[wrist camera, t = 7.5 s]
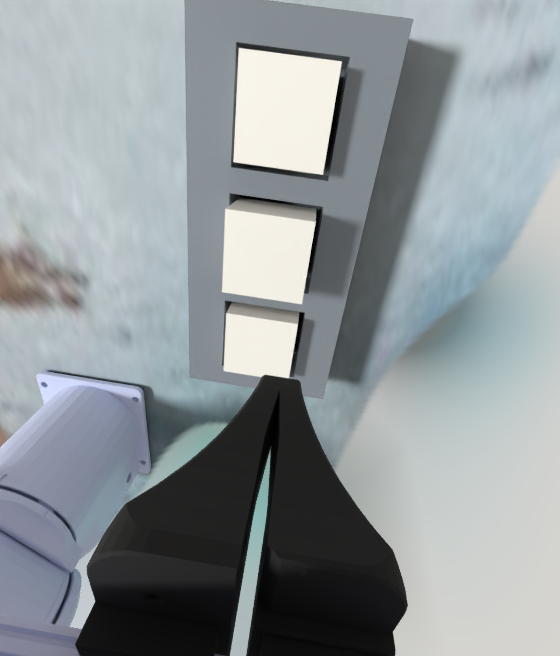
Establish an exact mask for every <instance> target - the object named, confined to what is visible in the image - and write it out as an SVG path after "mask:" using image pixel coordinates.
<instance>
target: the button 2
mask: <svg viewBox="0 0 560 656" xmlns="http://www.w3.org/2000/svg"><path fill="white" fill-rule="evenodd" d="M341 64H342V61H335V60H327V59H319V58H312V57H304V56H297V55H289V54H281V53H274V52H266V51H259V50H251V49H243V48H239V55H238V76H237V97H236V118H235V139H234V160H233V162H236V163H243V164H250V165H257V166H264V167H272V168H279V169H286V170H293V171H300V172H307V173H314V174H321V175H323V172H324V166H325V160H326V154H327V148H328V142H329V136H330V130H331V124H332V118H333V112H334V106H335V100H336V94H337V88H338V82H339V76H340V70H341Z"/></svg>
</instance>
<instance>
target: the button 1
mask: <svg viewBox="0 0 560 656" xmlns="http://www.w3.org/2000/svg"><path fill="white" fill-rule="evenodd" d="M298 320H299V312H297V311H291V310H284V309H278V308H271V307H265V306H258V305H252V304H245V303H239V302H232V303H231V305H230V307H229V309H228V311H227V313H226V329H225V350H224V371H226V372H233V373H239V374H245V375H251V376H258V377H262V376H264V375H271V376H277V377H284V378H289V375H290V369H291V363H292V357H293V351H294V345H295V339H296V333H297V327H298Z"/></svg>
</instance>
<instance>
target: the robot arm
mask: <svg viewBox="0 0 560 656" xmlns="http://www.w3.org/2000/svg"><path fill="white" fill-rule="evenodd" d="M37 381H38V384H39V388H40V391H41V395H42V398H43V401H44V405H43V406H42V407H41V408H40V409H39V410H38V411H37V412H36V413H35V414H34V415H33V416H32V417H31V418H30V419H29V420H28V421H27V422H26V423H25V424H24V425H23V426H22V427H21V428H20V429H19V430H18V431H17V432H16V433H15V434H14V435H13V436H12V437H11V438H9V439H8V440H7V441H6V442H5V443H4V444H3V445H2V446H1V447H0V656H230V651H231V645H232V639H233V632H234V627H235V621H236V615H237V609H238V603H239V597H240V591H241V585H242V579H243V573H244V567H245V561H246V556H247V549H248V544H249V538H250V532H251V526H252V520H253V515H254V510H255V505H256V500H257V497H258V493H259V489H260V485H261V481H262V478H263V474H264V470H265V466H266V462H267V459H268V455H269V451H270V447H271V457H270V475H269V492H268V507H267V517H266V524H265V531H264V538H263V545H262V552H261V559H260V565H259V573H258V580H257V586H256V593H255V600H254V607H253V614H252V620H251V628H250V635H249V641H248V648H247V654H246V656H395V644H394V637H393V630H394V629H395V628H396V626H397V625H398V623H399V622H400V620H401V619H402V617H403V616H404V614H405V612H406V609H407V606H408V604H407V599H406V591H405V587H404V583H403V579H402V576H401V573H400V569H399V566H398V564H397V561H396V558H395V555H394V552H393V550H392V549H391V547H390V546H389V545H388V544H387V543H386V542H385V540H384V539H383V538H382V537H381V536H380V535H379V534H378V532H377V531H376V530H375V529H374V528H373V526H372V525H371V524H370V523H369V521H368V520H367V519H366V517H365V516H364V515H363V513H362V512H361V511H360V509H359V508H358V507H357V505H356V504H355V502H354V501H353V500H352V498H351V496H350V495H349V493H348V492H347V491H346V489H345V488H344V486H343V485H342V483H341V482H340V480H339V478H338V477H337V475H336V473H335V471H334V470H333V468H332V466H331V464H330V463H329V461H328V459H327V457H326V455H325V453H324V451H323V449H322V447H321V445H320V443H319V440H318V438H317V436H316V434H315V431H314V429H313V426H312V423H311V421H310V418H309V415H308V412H307V409H306V406H305V402H304V399H303V394H302V389H301V383H300V381H299V380H296V379H290V378H284V377H277V376H271V375H264V376H262V377H261V380H260V382H259V383H258V385H257V387H256V389H255V390H254V392H253V393H252V395H251V396H250V398H249V399H248V400H247V402H246V403H245V404H244V406H243V407H242V408H241V410H240V411H239V412H238V413H237V415H236V416H235V417H234V418H233V419H232V420H231V422H230V423H229V424H228V425H227V426H226V427H225V428H224V429H223V431H222V432H221V433H220V434H219V435H218V436H217V437H216V438H215V439H213V441H211V442H210V443H209V444H208V445H207V446H206V447H205V448H204V449H203V450H201V451H200V452H199V453H198V454H197V455H196V456H195V457H193V458H192V459H191V460H190V461H188V462H187V463H186V464H185V465H183V466H182V467H181V468H180V469H178V470H176V471H175V472H174V473H172V474H171V475H170V476H168V477H167V478H165V479H164V480H163V481H161V482H160V483H158V484H157V485H155V486H154V487H152V488H150V489H149V490H147V491H146V492H144V493H142V494H141V495H139V496H137V497H136V498H134V499H132V500H131V501H129V502H127V503H126V504H125V505H124V506H123V508H122V509H121V510H120V512H119V513H118V514H117V516H116V517H115V518H114V520H113V521H112V519H113V517H114V515H115V513H116V511H117V510H118V508H119V506H120V504H121V502H122V500H123V499H124V497H125V495H126V493H127V491H128V489H129V488H130V486H131V484H132V482H133V480H134V478H135V476H136V475H137V473H142V474H147V473H149V472H150V470H151V461H150V451H149V441H148V431H147V421H146V411H145V402H144V392H143V390H142V389H141V388H140V387H137V386H132V385H126V384H120V383H114V382H108V381H101V380H95V379H89V378H83V377H77V376H71V375H64V374H58V373H52V372H46V371H42V372H40V373H39V374H37ZM136 397H137V398H138V399H137V398H136ZM111 521H112V523H111ZM110 523H111V524H110ZM109 524H110V526H109ZM108 526H109V527H108ZM99 541H100V542H99ZM98 542H99V544H98V546H97V548H96V550H95V552H94V554H93V555H92V557H91V559H90V561H89V563H88V565H87V575H88V578H89V581H90V585H91V588H92V591H93V595H94V598H95V604H94V606H93V608H92V610H91V612H90V614H89V616H88V618H87V620H86V622H85V624H84V626H83V628H82V629H78V628H72V627H70V624H71V622H72V620H73V618H74V615H75V612H76V609H77V606H78V602H79V597H80V588H81V575H80V572H79V571H78V570H77V569H75V566H76V564H77V563H78V561H79V559H81V558H82V557H84V556H85V555H86V554H87V553H89V552H90V551H91V550H92V549H93V548H94V547H95V546H96V545H97V543H98Z"/></svg>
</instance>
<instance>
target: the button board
mask: <svg viewBox="0 0 560 656" xmlns="http://www.w3.org/2000/svg"><path fill="white" fill-rule="evenodd" d="M412 23H413V19H410V18H402V17H394V16H386V15H379V14H371V13H363V12H355V11H347V10H339V9H331V8H324V7H316V6H308V5H300V4H292V3H284V2H276V1H269V0H185V66H186V140H187V213H188V287H189V361H190V378H195V379H202V380H208V381H214V382H220V383H226V384H233V385H239V386H245V387H251V388H256V387H257V385H258V383H259V382H260V380H261V377H258V376H251V375H245V374H239V373H233V372H226V371H224V350H225V329H226V313H227V311H228V309H229V307H230V305H231V303H232V302H239V303H245V304H252V305H258V306H265V307H271V308H278V309H284V310H291V311H297V312H304V313H303V319H302V324H301V330H300V336H299V342H298V347H297V353H296V354H293V357H292V363H291V369H290V375H289V378H290V379H296V380H299V381H300V383H301V389H302V394H303V396H307V397H313V398H320V399H323V396H324V392H325V388H326V384H327V380H328V375H329V371H330V367H331V363H332V359H333V354H334V350H335V346H336V342H337V338H338V333H339V329H340V325H341V321H342V317H343V312H344V308H345V304H346V300H347V296H348V291H349V287H350V283H351V279H352V275H353V270H354V266H355V262H356V258H357V254H358V249H359V245H360V241H361V237H362V233H363V229H364V224H365V220H366V216H367V212H368V208H369V203H370V199H371V195H372V191H373V187H374V182H375V178H376V174H377V170H378V166H379V161H380V157H381V153H382V149H383V145H384V140H385V136H386V132H387V128H388V124H389V119H390V115H391V111H392V107H393V103H394V98H395V94H396V90H397V86H398V82H399V77H400V73H401V69H402V65H403V61H404V56H405V52H406V48H407V44H408V40H409V35H410V31H411V27H412ZM239 48H243V49H251V50H259V51H266V52H274V53H281V54H289V55H297V56H304V57H312V58H319V59H327V60H335V61H342V64H341V68H346V70H345V76H344V82H343V88H342V93H341V99H340V105H339V111H338V117H337V122H336V128H335V134H334V140H333V145H332V151H331V157H330V163H329V168H328V174H327V175H320V174H313V173H306V172H299V171H292V170H285V169H278V168H270V167H263V166H256V165H249V164H242V163H236V162H233V160H234V139H235V118H236V97H237V76H238V55H239ZM240 195H245V196H252V197H259V198H266V199H273V200H280V201H287V202H294V203H300V204H307V205H314V206H321V207H322V209H321V215H320V220H319V226H318V232H317V238H316V244H315V249H314V255H313V261H312V267H311V272H310V277H306V283H305V289H304V295H303V301H302V304H296V303H290V302H283V301H277V300H270V299H263V298H257V297H250V296H244V295H237V294H231V293H224V292H222V280H223V254H224V228H225V209H226V208H227V207H228V206H230V205H231V204H232V203H234V202H235V201H236V200H237V199H239V198H240Z"/></svg>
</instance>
